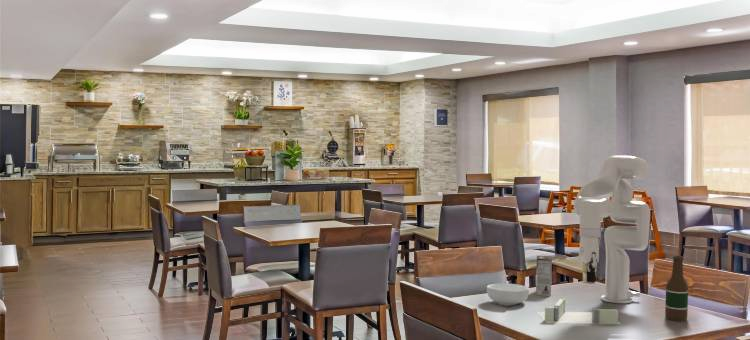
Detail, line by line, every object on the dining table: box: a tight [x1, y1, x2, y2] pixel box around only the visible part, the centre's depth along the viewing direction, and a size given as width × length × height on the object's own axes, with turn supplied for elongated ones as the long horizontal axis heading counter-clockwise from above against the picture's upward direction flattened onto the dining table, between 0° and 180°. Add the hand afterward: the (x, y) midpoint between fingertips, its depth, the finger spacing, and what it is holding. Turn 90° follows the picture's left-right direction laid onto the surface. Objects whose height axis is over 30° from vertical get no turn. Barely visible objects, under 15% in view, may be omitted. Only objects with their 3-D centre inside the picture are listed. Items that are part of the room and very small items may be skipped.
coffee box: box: [535, 255, 553, 297], centre depth 310 cm, size 9×6×16 cm
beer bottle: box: [664, 255, 689, 322], centre depth 268 cm, size 8×8×24 cm
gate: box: [554, 297, 566, 319], centre depth 268 cm, size 14×2×5 cm, turn 156°
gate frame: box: [536, 306, 622, 325], centre depth 266 cm, size 27×17×5 cm, turn 91°
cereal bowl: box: [486, 283, 530, 307], centre depth 290 cm, size 17×17×7 cm
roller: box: [582, 262, 596, 285], centre depth 266 cm, size 4×4×8 cm
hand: (588, 279), depth 266 cm, fingers closed on roller, 4 cm apart
